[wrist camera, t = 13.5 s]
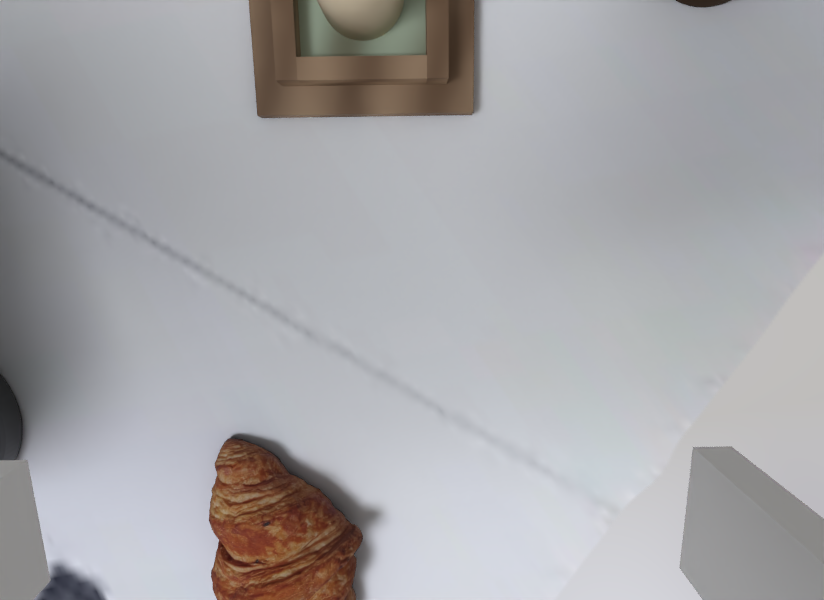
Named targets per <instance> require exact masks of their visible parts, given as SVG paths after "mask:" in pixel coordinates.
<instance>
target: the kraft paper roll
mask: <svg viewBox="0 0 824 600" xmlns="http://www.w3.org/2000/svg"><path fill="white" fill-rule="evenodd" d="M317 2H318V4H319V6H320V8H321V10H322V12H323V14H324V16H325V18H326V19H327V21H328V22H329V24H330V25H331V26H332V27H333V28H334V29H335V30H336V31H337V32H338V33H340V34H341V35H343V36H345V37H347V38H350V39H353V40H358V41H367V40H372V39H376V38H378V37H380V36H382V35H384V34H385V33H387V32H388V31H389V30H390V29H391V28H392V27H393V26H394V25H395V23H396V22H397V20H398V19H399V17H400V14H401V12H402V9H403V4H404V0H317Z"/></svg>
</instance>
